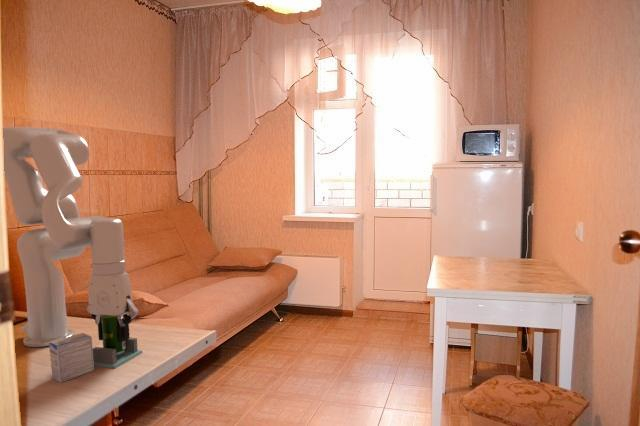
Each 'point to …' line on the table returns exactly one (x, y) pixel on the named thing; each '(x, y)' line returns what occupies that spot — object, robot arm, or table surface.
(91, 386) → the table surface
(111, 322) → the beer can
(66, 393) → the table surface
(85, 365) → the medicine box
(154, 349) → the table surface
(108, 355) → the end holder
